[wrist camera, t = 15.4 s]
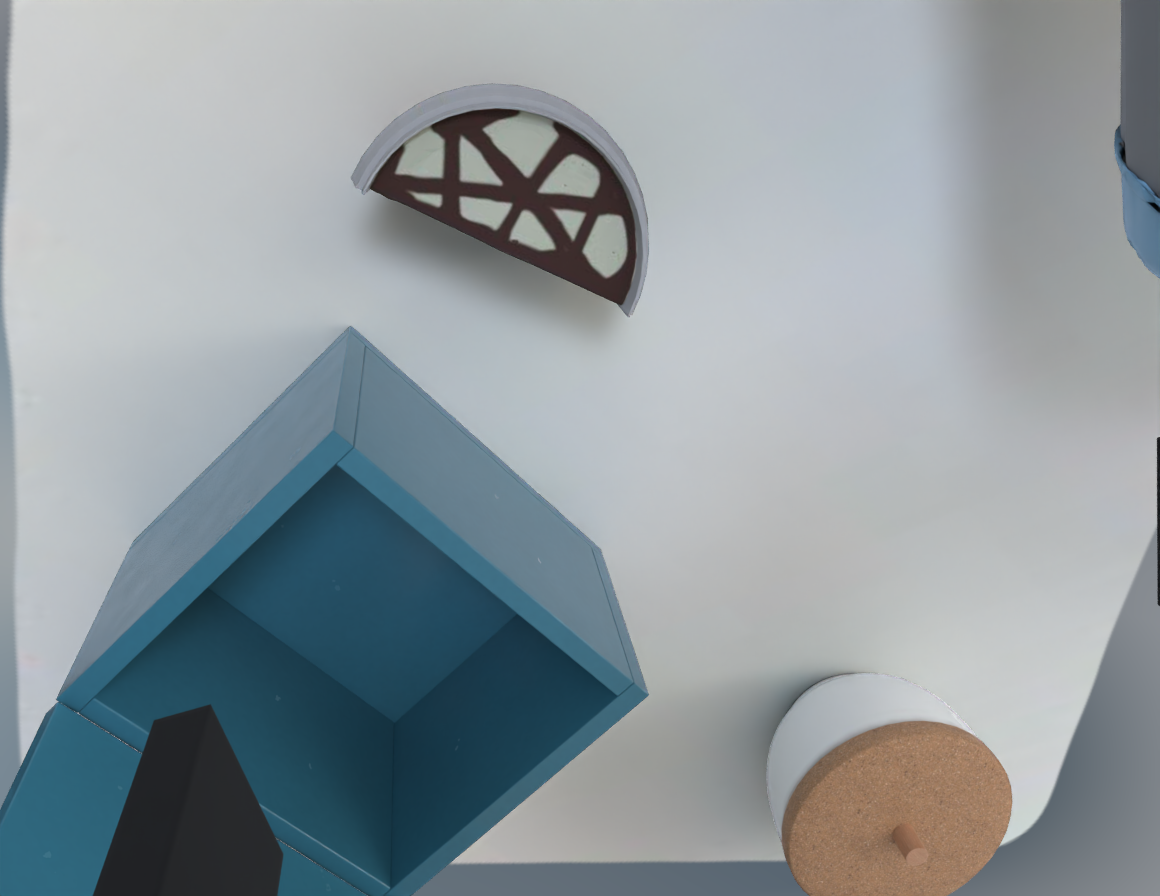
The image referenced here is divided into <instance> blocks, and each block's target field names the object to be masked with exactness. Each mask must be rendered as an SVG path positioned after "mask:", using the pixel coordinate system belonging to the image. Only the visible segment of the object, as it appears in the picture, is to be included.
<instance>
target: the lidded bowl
mask: <svg viewBox="0 0 1160 896" xmlns="http://www.w3.org/2000/svg"><path fill="white" fill-rule="evenodd" d="M766 778H767V792H768V799H769V803H770V807H771V812H772V816H773V820H774V824H775V827H776V829H777V832H778V835H779V838H780V840H781V842H782V846H783V850H784V854H785V858H786V861H787V863H788V865H789V867H790V869H791V872H792V874H793V876H794V878H795V880H796V881H797V883H798V884H799V885H800V887H801V888H802V889H803V890H804V891H805V892H806V893H807V894H808V895H809V896H947V895H949V894H950V893H952V892H954V891H955V890H957V889H958V888H959V887H961V886H962V885H964V884H965V883H967V882H968V881H969V880H970V879H971V878H972V877H973V876H974V875H976V874H977V873H978V872H979V871H980V870H981V869H982V868H983V867H984V865H985V864H986V863H987V862H988V861H989V860H990V859H991V857H992V856H993V854H994V853H995V851H996V850H997V848H998V847H999V845H1000V843H1001V841H1002V839H1003V837H1004V835H1005V833H1006V831H1007V827H1008V824H1009V820H1010V816H1011V808H1012V793H1011V785H1010V782H1009V779H1008V776H1007V773H1006V772H1005V770H1004V768H1003V767H1002V765H1001V763H1000V762H999V760H998V759H997V758H996V756H995V755H994V754H993V753H992V752H991V750H990V749H989V748H988V747H987V746H986V745H985V744H984V743H983V742H982V741H981V740H980V739H979V738H978V737H977V735H976V734H975V733H974V732H973V731H972V729H971V728H970V727H969V726H968V725H967V724H966V722H965V721H964V720H963V719H962V718H961V717H960V716H959V715H958V714H957V713H956V712H955V711H954V710H953V709H952V708H951V707H950V706H949V705H948V704H946V703H945V702H943V701H942V700H941V699H939V698H938V697H937V696H935V695H934V694H933V693H931V692H930V691H928V690H927V689H925V688H923V687H921V686H919V685H917V684H914V683H912V682H910V681H908V680H906V679H903V678H899V677H895V676H891V675H886V674H878V673H859V674H844V675H838V676H834V677H831V678H827V679H825V680H823V681H820V682H818V683H817V684H815V685H813V686H812V687H810V688H809V689H808V690H806V691H805V692H804V693H803V694H802V695H801V696H800V697H799V698H798V699H797V700H796V701H795V703H794V704H793V705H792V707H791V708H790V710H789V711H788V712H787V714H786V715H785V716H784V718H783V719H782V720H781V722H780V724H779V726H778V728H777V730H776V732H775V735H774V737H773V740H772V743H771V746H770V749H769V754H768V760H767V769H766Z"/></svg>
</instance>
